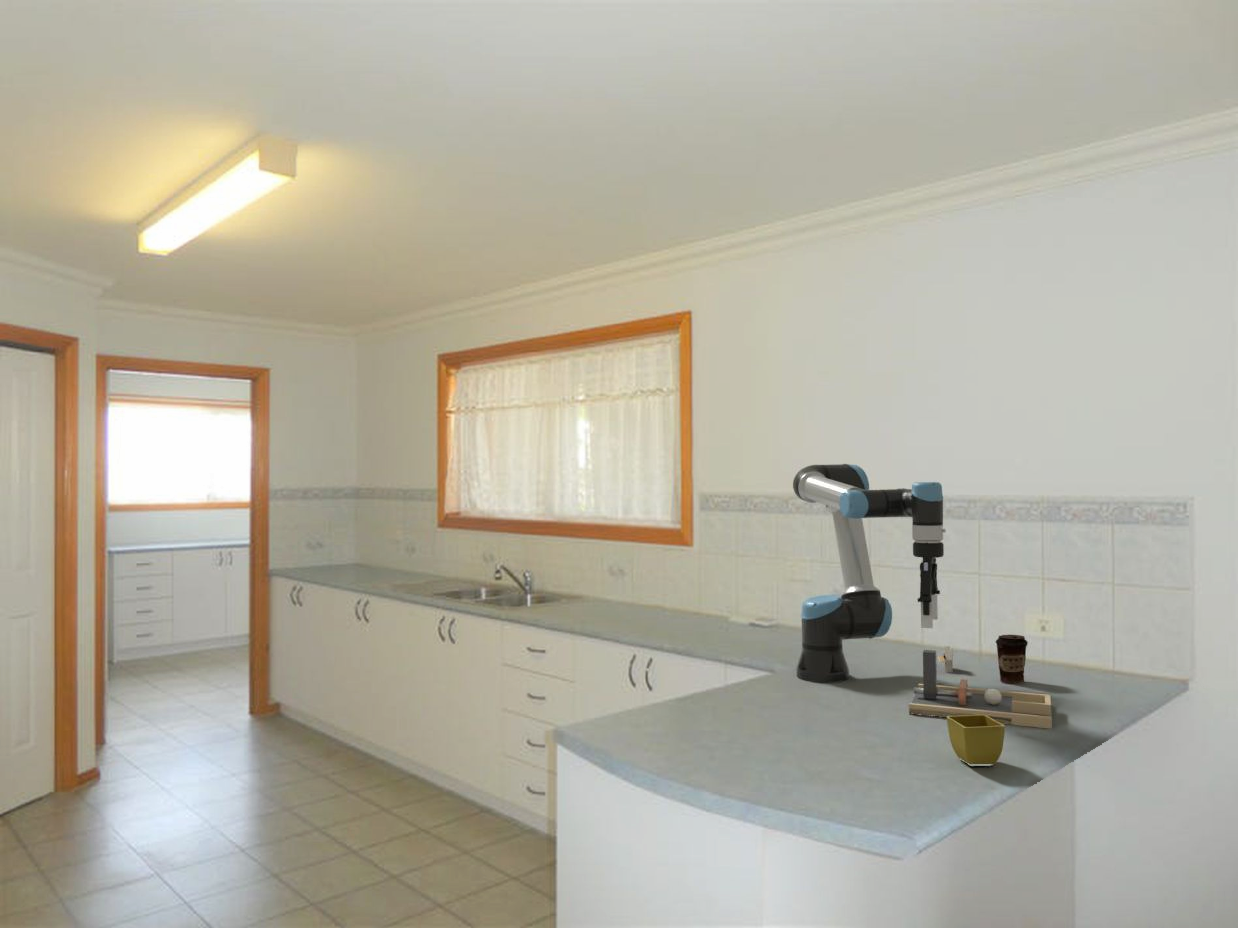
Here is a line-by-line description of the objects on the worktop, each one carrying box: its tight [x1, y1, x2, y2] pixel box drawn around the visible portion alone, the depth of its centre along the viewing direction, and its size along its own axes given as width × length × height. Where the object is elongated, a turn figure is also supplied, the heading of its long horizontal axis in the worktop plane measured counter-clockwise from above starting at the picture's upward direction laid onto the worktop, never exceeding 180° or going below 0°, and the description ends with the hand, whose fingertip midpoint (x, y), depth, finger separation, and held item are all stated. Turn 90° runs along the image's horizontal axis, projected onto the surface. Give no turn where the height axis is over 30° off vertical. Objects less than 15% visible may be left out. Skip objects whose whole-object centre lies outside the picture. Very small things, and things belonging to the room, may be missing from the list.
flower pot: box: [946, 715, 1006, 765], centre depth 183 cm, size 9×9×9 cm
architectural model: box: [937, 644, 954, 673], centre depth 265 cm, size 3×7×7 cm, turn 166°
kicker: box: [913, 649, 972, 706], centre depth 226 cm, size 14×9×12 cm, turn 65°
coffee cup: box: [995, 634, 1029, 685], centre depth 250 cm, size 9×8×13 cm
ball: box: [984, 688, 1002, 705], centre depth 221 cm, size 4×4×4 cm
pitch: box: [908, 683, 1053, 730], centre depth 223 cm, size 32×22×4 cm
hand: (929, 623), depth 227 cm, fingers open, 13 cm apart
